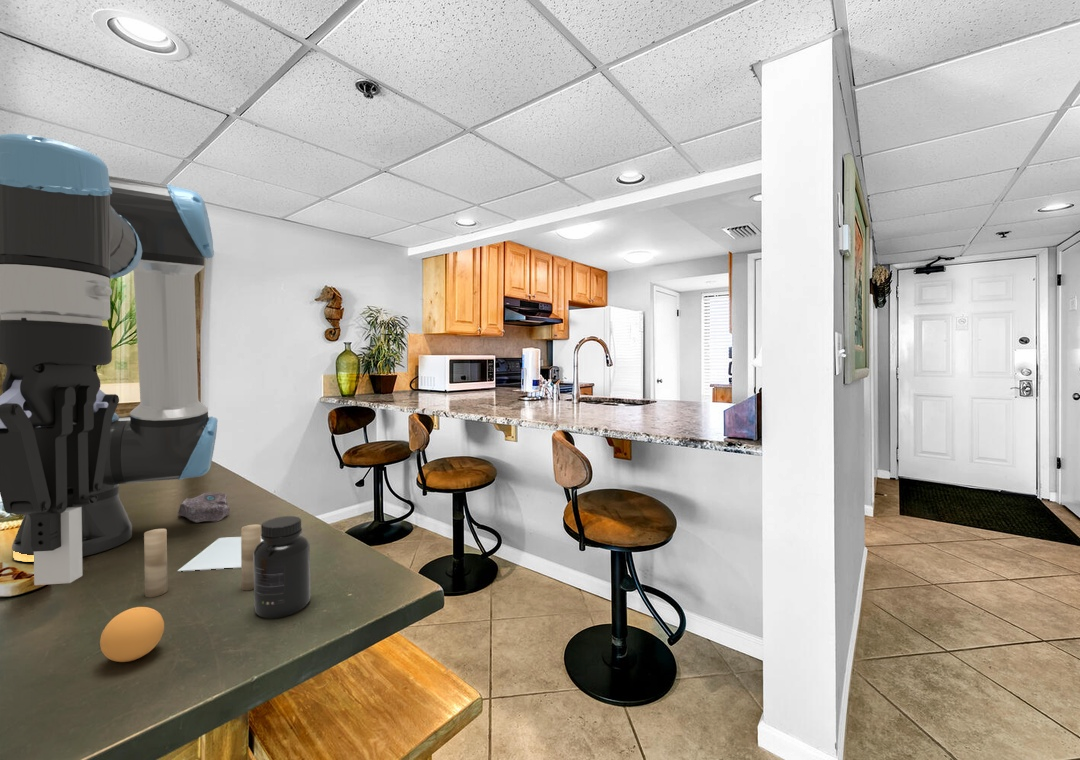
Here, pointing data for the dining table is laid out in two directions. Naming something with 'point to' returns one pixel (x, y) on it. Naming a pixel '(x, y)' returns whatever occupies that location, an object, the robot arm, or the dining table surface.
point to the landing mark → (217, 556)
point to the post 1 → (155, 562)
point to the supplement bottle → (281, 568)
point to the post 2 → (248, 554)
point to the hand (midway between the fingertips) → (58, 580)
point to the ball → (132, 634)
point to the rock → (205, 507)
